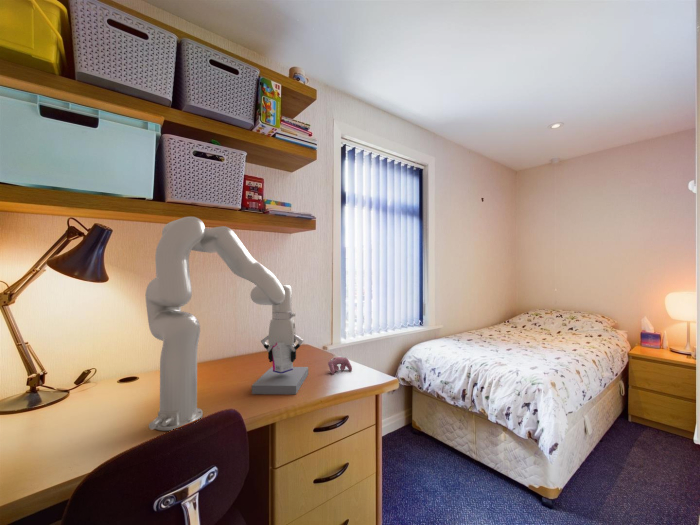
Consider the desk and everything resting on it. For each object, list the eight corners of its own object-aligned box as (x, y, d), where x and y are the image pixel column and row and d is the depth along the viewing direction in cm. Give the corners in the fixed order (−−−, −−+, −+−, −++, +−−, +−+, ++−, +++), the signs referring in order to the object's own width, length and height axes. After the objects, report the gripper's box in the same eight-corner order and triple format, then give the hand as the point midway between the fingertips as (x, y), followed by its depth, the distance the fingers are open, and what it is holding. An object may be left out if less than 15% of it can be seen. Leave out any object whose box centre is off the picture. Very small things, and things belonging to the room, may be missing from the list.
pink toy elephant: (349, 372, 135) (346, 356, 138) (353, 370, 131) (350, 354, 134) (328, 376, 131) (326, 359, 134) (332, 374, 127) (329, 357, 130)
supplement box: (293, 369, 119) (291, 340, 119) (281, 374, 114) (279, 343, 115) (284, 367, 122) (282, 339, 123) (272, 371, 118) (270, 342, 118)
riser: (296, 394, 107) (296, 385, 107) (251, 394, 108) (251, 385, 108) (308, 374, 129) (308, 366, 129) (271, 374, 130) (271, 366, 130)
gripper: (305, 314, 122) (306, 358, 122) (263, 315, 123) (263, 358, 123) (301, 317, 115) (302, 364, 114) (256, 317, 116) (256, 364, 115)
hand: (282, 360), depth 118 cm, fingers closed on supplement box, 8 cm apart
